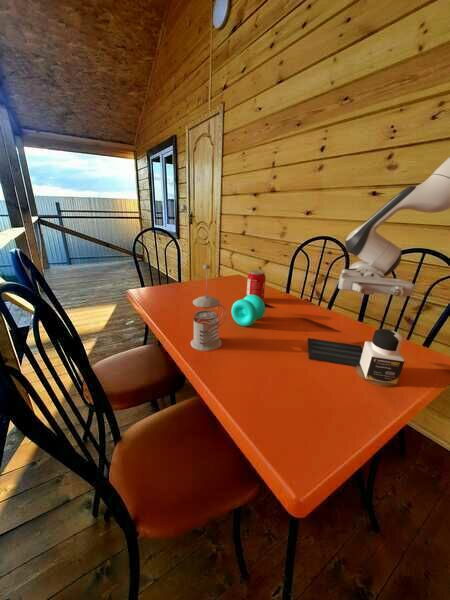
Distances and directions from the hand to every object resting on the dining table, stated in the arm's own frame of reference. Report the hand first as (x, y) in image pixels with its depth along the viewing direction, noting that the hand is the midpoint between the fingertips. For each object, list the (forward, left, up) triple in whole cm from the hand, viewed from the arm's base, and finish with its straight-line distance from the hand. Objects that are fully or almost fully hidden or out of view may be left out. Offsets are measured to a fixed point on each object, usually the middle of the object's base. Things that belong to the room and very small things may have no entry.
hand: (380, 291), depth 71 cm
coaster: (-6, +10, -19) cm, 23 cm away
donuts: (+38, +13, -20) cm, 44 cm away
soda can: (+50, -4, -20) cm, 53 cm away
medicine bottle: (-7, +10, -19) cm, 22 cm away
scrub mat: (+6, +8, -19) cm, 22 cm away
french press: (+35, +34, -20) cm, 52 cm away
